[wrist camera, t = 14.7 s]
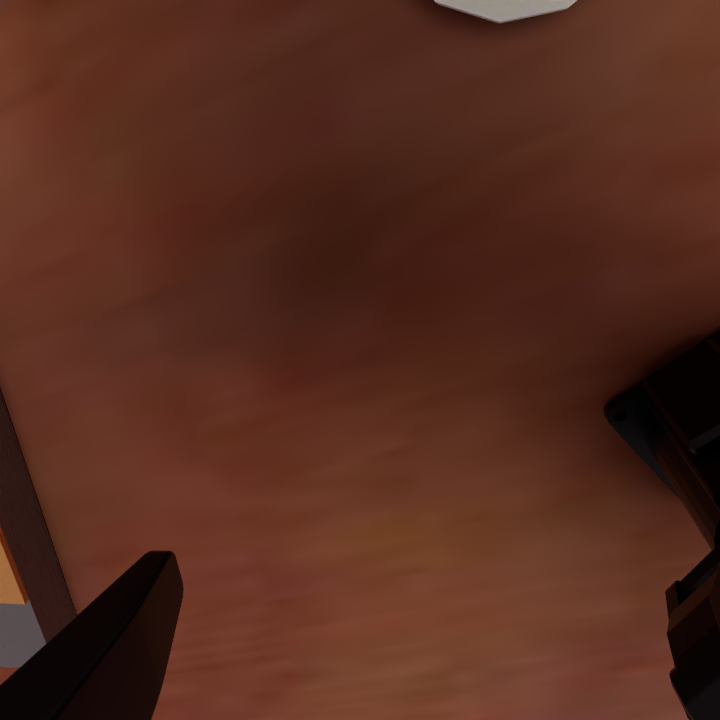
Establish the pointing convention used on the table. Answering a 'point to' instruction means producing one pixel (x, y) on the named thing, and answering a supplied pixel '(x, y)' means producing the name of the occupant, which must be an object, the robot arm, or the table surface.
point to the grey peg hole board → (25, 561)
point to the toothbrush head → (506, 8)
